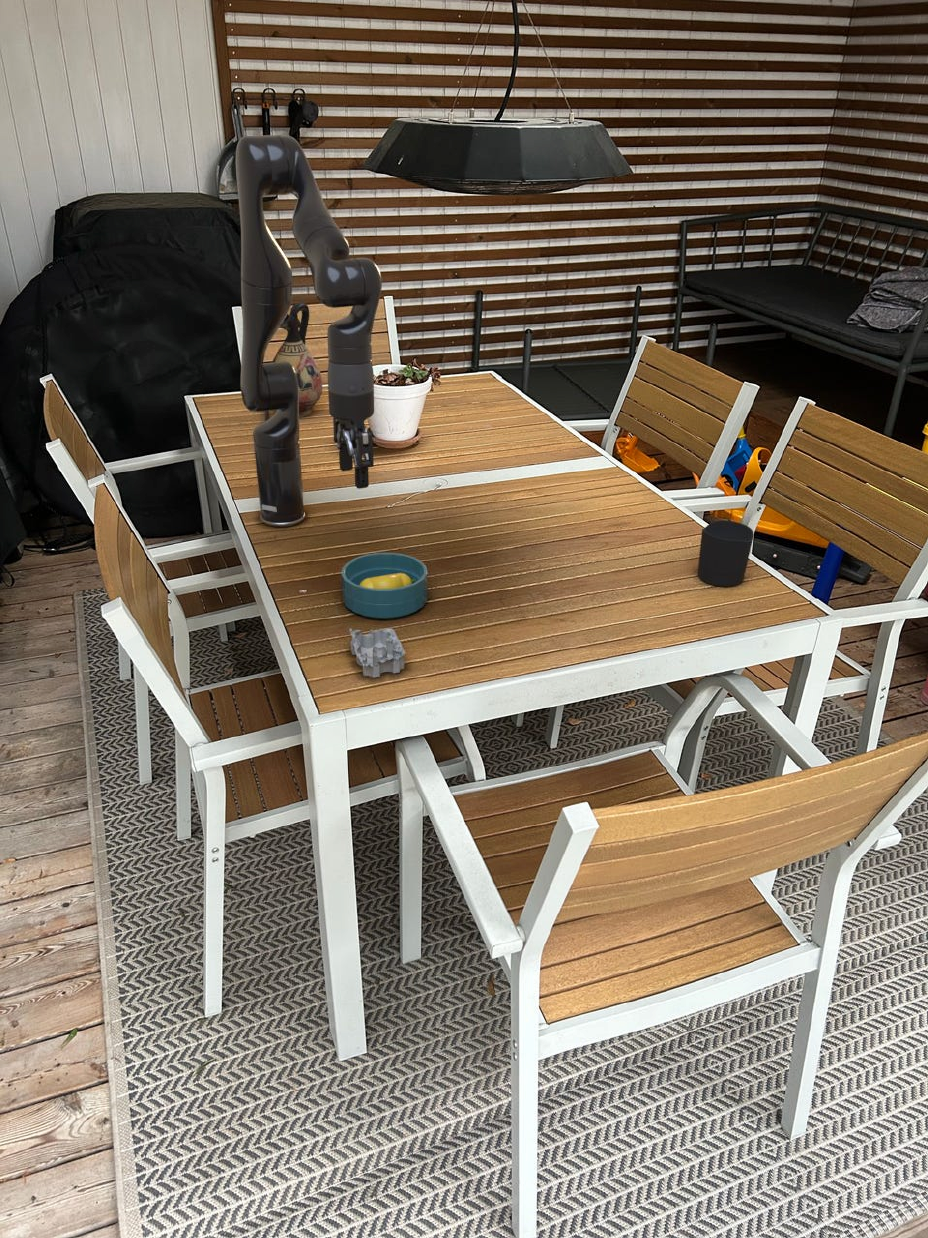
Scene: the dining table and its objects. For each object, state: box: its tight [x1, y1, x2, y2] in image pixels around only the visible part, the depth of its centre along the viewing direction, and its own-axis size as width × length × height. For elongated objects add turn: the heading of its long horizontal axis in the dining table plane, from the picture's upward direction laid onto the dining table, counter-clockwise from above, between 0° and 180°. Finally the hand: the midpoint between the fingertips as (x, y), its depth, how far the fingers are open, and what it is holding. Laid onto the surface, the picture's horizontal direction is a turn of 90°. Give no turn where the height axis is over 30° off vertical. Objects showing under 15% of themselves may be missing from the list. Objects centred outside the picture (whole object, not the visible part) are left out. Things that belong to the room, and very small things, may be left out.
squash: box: [359, 573, 416, 589], centre depth 171 cm, size 11×4×4 cm, turn 114°
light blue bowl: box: [341, 552, 428, 620], centre depth 171 cm, size 15×15×6 cm
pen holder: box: [697, 519, 755, 588], centre depth 181 cm, size 9×9×10 cm
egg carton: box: [348, 627, 407, 678], centre depth 153 cm, size 11×8×4 cm
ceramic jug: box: [271, 302, 323, 418], centre depth 263 cm, size 17×15×30 cm
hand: (353, 478), depth 165 cm, fingers open, 8 cm apart
